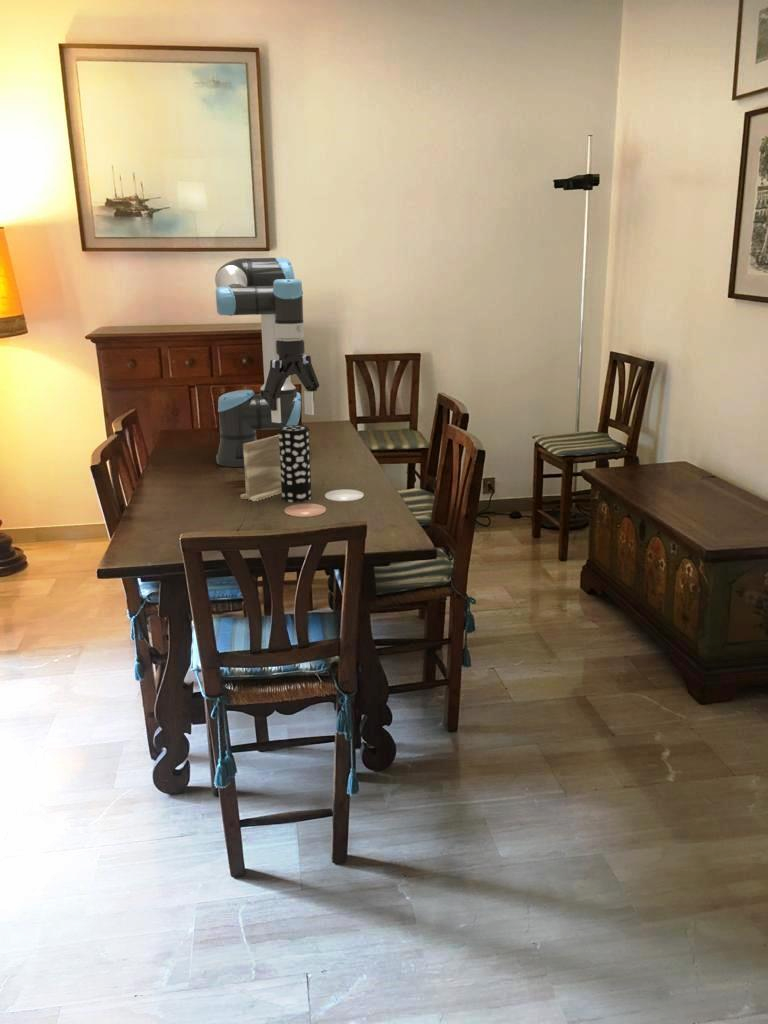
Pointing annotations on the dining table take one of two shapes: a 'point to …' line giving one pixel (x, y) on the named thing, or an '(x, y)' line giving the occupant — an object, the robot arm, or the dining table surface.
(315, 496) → the dining table surface
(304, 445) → the spotted tube
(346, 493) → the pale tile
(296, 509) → the pink round disc
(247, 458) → the birch shelf
